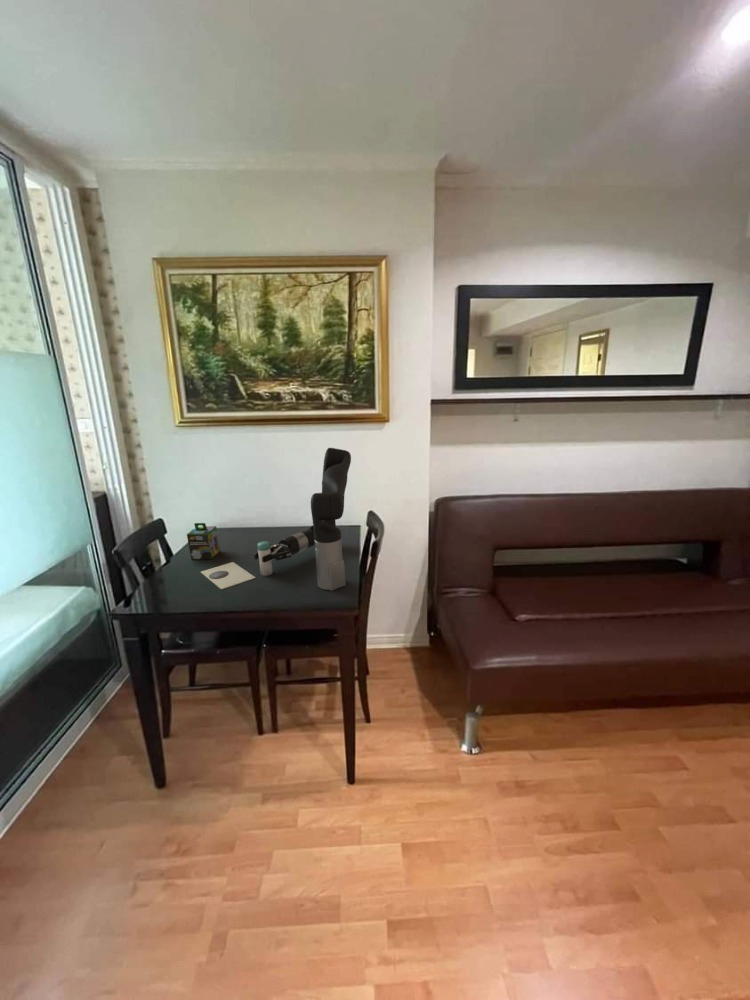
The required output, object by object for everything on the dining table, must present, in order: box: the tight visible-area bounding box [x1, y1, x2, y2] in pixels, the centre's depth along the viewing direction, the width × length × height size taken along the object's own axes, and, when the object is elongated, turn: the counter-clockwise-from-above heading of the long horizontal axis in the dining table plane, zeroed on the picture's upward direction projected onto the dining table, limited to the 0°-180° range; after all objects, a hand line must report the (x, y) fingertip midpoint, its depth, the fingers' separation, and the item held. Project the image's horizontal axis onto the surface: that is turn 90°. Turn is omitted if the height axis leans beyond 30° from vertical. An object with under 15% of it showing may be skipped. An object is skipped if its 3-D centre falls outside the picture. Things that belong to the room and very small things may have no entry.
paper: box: [200, 561, 256, 590], centre depth 165 cm, size 20×13×1 cm, turn 41°
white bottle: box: [256, 540, 273, 577], centre depth 164 cm, size 4×4×12 cm
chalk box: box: [186, 522, 221, 560], centre depth 183 cm, size 9×9×15 cm
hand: (258, 558), depth 162 cm, fingers closed on white bottle, 4 cm apart
